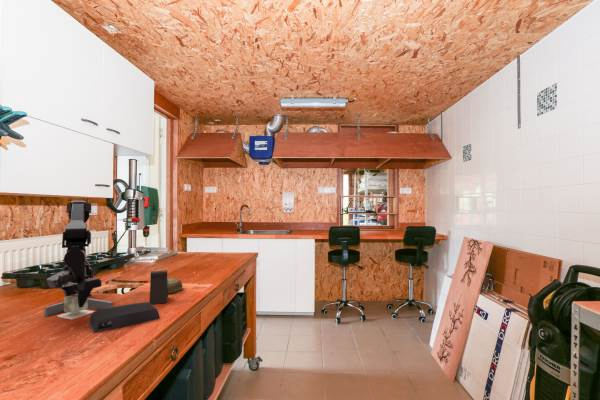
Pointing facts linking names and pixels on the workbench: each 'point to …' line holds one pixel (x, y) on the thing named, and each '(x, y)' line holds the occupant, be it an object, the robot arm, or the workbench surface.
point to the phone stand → (158, 287)
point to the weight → (174, 285)
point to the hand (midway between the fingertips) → (76, 306)
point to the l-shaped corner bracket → (91, 303)
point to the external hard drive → (122, 316)
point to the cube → (73, 304)
